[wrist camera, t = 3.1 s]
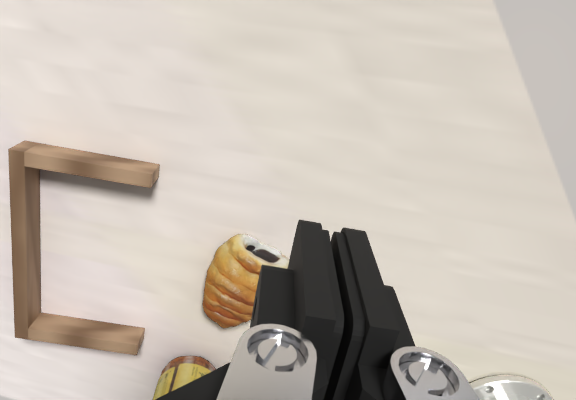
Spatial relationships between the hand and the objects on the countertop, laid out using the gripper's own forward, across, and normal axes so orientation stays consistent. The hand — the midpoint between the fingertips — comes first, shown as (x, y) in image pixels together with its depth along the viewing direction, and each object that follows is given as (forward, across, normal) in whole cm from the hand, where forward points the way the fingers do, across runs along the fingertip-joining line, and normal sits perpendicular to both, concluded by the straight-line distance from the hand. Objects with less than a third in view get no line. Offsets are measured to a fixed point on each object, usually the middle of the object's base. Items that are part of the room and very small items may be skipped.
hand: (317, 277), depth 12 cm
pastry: (+29, +1, +18) cm, 34 cm away
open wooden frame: (+28, +16, +18) cm, 37 cm away
